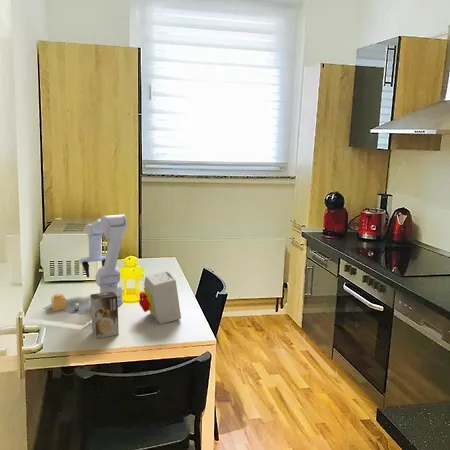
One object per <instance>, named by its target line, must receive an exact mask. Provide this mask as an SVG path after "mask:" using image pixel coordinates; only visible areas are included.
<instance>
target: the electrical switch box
mask: <svg viewBox="0 0 450 450" xmlns="http://www.w3.org/2000/svg"><path fill="white" fill-rule="evenodd" d="M143 286H144V287H143V291H142V292H139V300H138V303H139V306H140V307H141V308H142V311H143V312H144V313H147V312H150V313H151V315H152V316H153V317H154V318H155V320H156V321H157V322H158V323H159V324H160V325H162V324H166V323H170V322H175V321H177V320H181V319H182V314H181V308H180V307H181V306H180V301H179V294H178V293H179V292H178V286H177V280H176V278H175V277H174V276H173V274H172V273H171V271H167V270H164V271H159V272H155V273H151V274H148V275H145V277H144V283H143Z"/></svg>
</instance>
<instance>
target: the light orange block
mask: <svg viewBox="0 0 450 450" xmlns="http://www.w3.org/2000/svg"><path fill="white" fill-rule="evenodd" d="M65 299H66V297H65V296H64V294H62V293H55V294H53V295H51V296H50V302H51V306H52V309H53V310H52V311H53V312H54V311H55V310H62V309H66V306H65Z"/></svg>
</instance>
